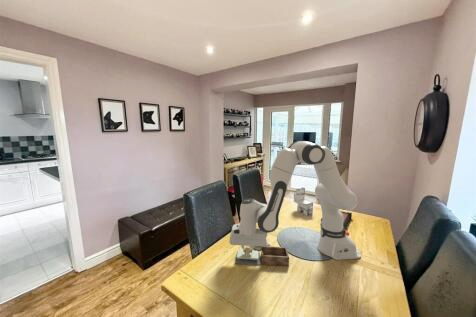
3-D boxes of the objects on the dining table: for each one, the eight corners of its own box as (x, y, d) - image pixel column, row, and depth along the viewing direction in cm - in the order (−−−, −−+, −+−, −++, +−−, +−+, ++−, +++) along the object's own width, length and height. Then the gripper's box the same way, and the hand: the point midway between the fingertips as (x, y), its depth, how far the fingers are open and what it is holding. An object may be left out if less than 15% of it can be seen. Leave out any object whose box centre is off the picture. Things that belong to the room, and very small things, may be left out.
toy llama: (307, 217, 160) (309, 193, 157) (293, 209, 175) (294, 187, 172) (314, 215, 163) (316, 192, 160) (299, 208, 178) (300, 186, 176)
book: (328, 213, 168) (328, 207, 168) (351, 218, 158) (351, 213, 157) (319, 224, 148) (319, 218, 147) (345, 232, 137) (345, 225, 137)
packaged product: (240, 231, 129) (252, 227, 135) (240, 238, 130) (252, 233, 136) (258, 244, 115) (270, 239, 120) (257, 251, 115) (270, 246, 121)
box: (286, 255, 112) (286, 247, 111) (288, 266, 103) (289, 257, 102) (261, 254, 113) (261, 245, 112) (261, 264, 104) (262, 256, 103)
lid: (258, 252, 111) (258, 244, 111) (258, 259, 105) (258, 251, 104) (237, 251, 112) (237, 243, 112) (236, 258, 106) (236, 250, 105)
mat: (259, 253, 113) (259, 252, 113) (260, 265, 103) (260, 264, 103) (237, 252, 114) (237, 251, 114) (235, 263, 105) (235, 263, 105)
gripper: (267, 226, 108) (266, 249, 110) (230, 224, 110) (230, 247, 112) (267, 232, 102) (267, 256, 104) (228, 230, 104) (229, 254, 106)
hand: (247, 251), depth 108 cm, fingers closed on lid
